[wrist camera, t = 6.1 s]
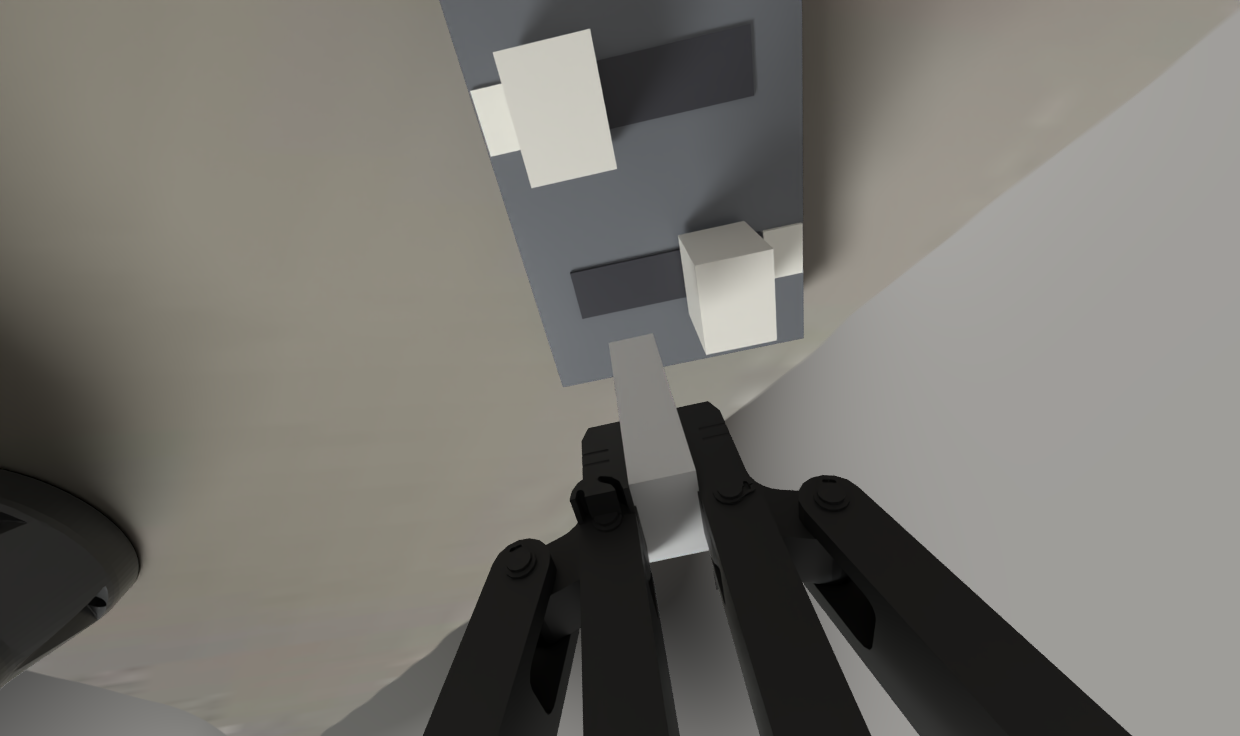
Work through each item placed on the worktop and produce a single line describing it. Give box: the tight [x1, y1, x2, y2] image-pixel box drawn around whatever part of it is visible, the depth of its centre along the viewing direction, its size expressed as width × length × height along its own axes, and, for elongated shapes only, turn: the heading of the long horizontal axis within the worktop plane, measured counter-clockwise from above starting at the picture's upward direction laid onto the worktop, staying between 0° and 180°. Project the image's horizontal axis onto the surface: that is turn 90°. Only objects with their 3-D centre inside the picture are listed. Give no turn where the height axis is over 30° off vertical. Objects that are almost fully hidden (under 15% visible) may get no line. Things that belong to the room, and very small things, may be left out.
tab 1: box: [493, 29, 617, 188], centre depth 17 cm, size 3×4×4 cm
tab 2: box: [678, 221, 777, 355], centre depth 21 cm, size 3×4×4 cm
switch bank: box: [439, 0, 804, 387], centre depth 21 cm, size 13×26×4 cm, turn 11°
